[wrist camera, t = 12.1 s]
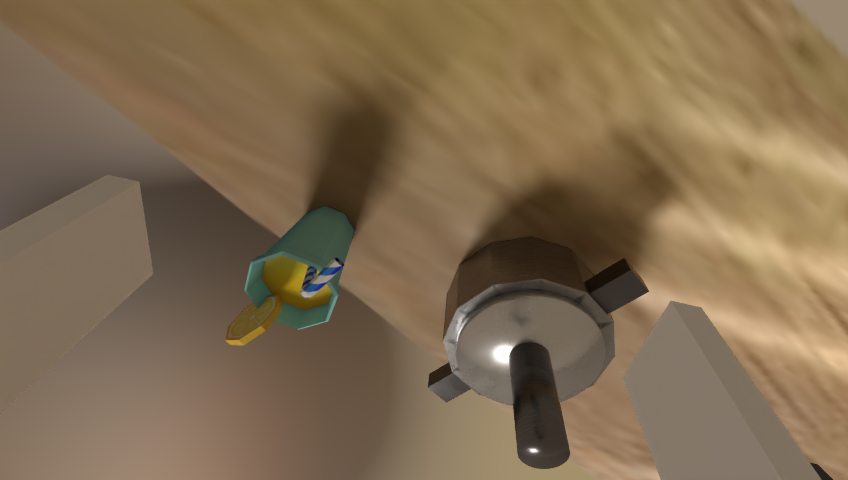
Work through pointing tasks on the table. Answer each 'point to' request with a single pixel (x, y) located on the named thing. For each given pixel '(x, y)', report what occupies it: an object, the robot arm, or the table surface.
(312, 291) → the cup
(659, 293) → the table surface
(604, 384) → the table surface
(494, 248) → the pot
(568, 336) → the lid
